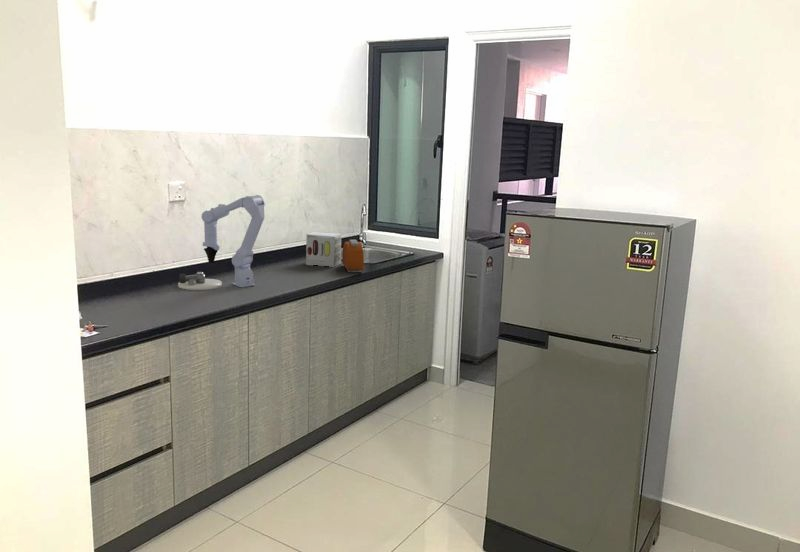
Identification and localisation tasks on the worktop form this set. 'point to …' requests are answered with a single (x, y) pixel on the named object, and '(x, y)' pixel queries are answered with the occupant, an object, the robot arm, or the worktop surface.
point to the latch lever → (193, 277)
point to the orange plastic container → (353, 256)
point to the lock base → (201, 285)
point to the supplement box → (323, 249)
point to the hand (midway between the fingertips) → (211, 262)
